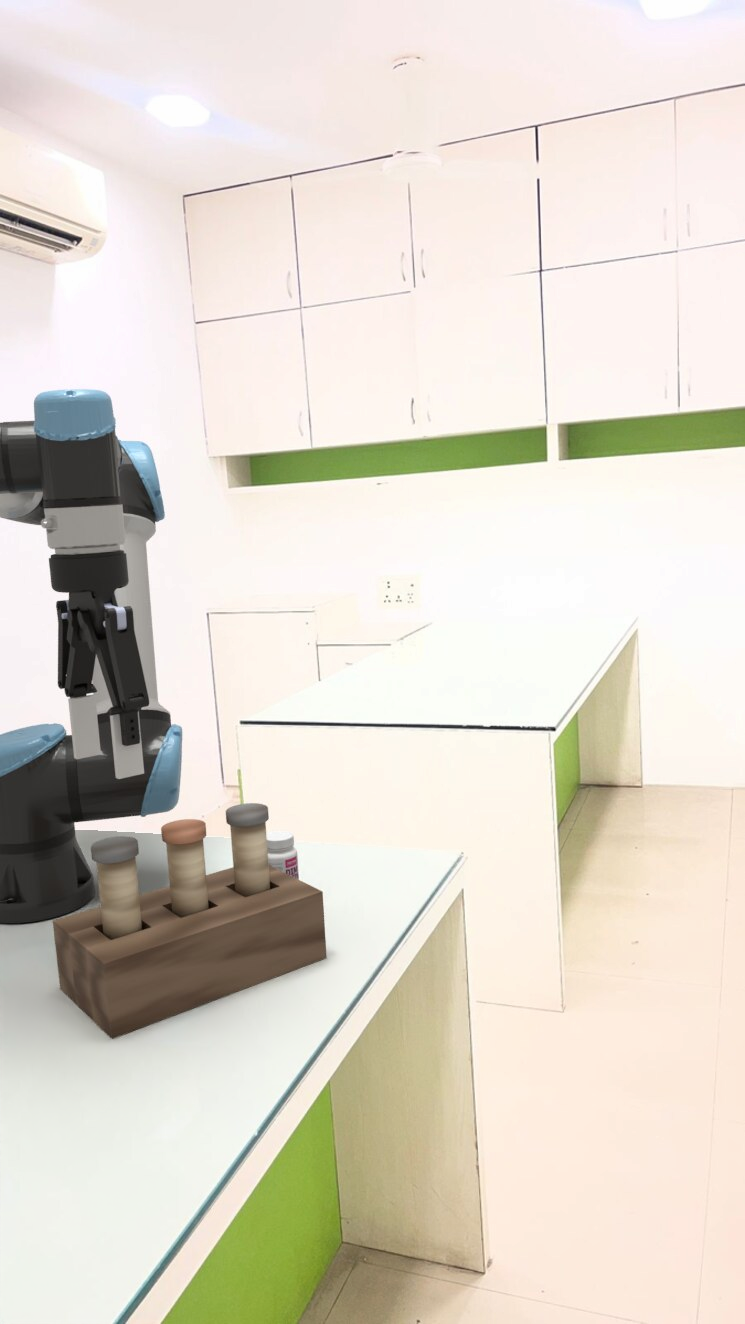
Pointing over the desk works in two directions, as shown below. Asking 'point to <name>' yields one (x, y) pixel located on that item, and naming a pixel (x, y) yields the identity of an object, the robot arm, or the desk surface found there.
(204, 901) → the plug middle
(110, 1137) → the desk surface
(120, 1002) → the socket board
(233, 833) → the plug
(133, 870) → the plug
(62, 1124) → the desk surface
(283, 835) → the pill bottle
